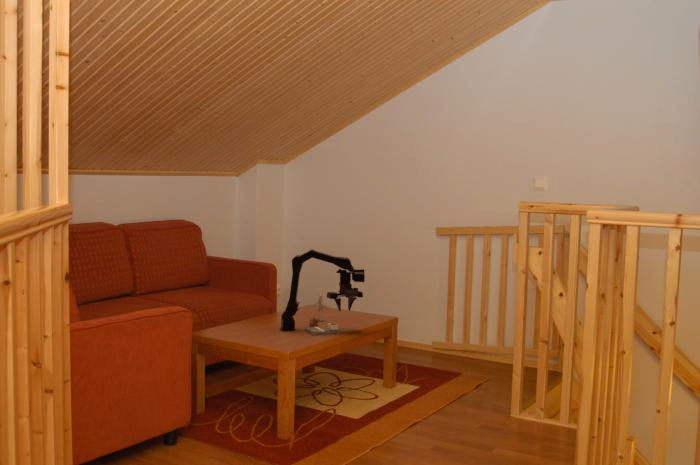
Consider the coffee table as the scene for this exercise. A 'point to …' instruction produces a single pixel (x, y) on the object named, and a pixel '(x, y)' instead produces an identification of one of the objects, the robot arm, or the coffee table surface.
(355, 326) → the coffee table surface
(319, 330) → the board
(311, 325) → the wooden knobbed box
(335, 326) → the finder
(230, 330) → the coffee table surface
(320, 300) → the figurine
